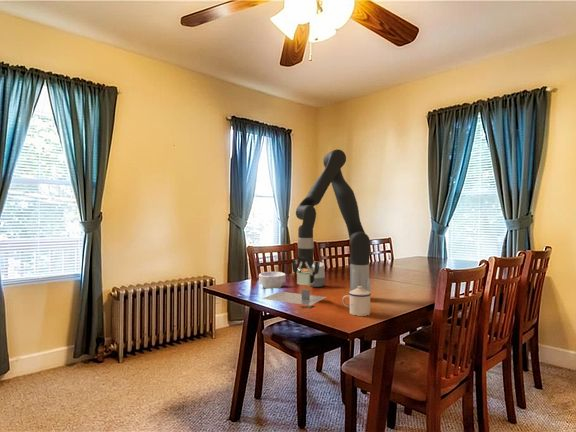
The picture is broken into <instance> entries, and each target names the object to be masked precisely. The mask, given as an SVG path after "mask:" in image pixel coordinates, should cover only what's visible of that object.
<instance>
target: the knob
mask: <svg viewBox="0 0 576 432" xmlns="http://www.w3.org/2000/svg"><path fill="white" fill-rule="evenodd" d="M310 276H311V275H310V272H309V271H301V272H300V273H297V274H296V284H297V285H302V286H303V285H304V286H310V285H311V284H313V283H314V282H313V283H310Z"/></svg>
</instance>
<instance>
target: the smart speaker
mask: <svg viewBox="0 0 576 432" xmlns="http://www.w3.org/2000/svg"><path fill="white" fill-rule="evenodd" d="M319 262H320V265H319V272H318V274H315V278H314V283H313V284H311V285H309V286H310V287H312V288H322V287H324V285H325V282H326V274H325V263H324V262H321V261H319ZM312 266H313V269H315V266H314V263H313V265H312Z"/></svg>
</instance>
